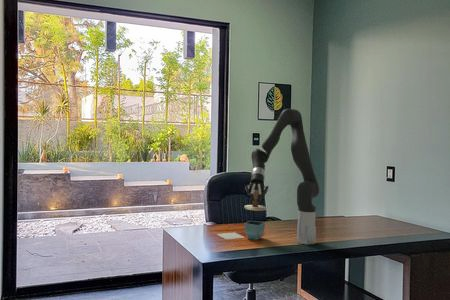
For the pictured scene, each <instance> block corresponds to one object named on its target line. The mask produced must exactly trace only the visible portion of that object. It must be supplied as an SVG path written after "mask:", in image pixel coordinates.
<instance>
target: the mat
mask: <svg viewBox="0 0 450 300" xmlns="http://www.w3.org/2000/svg"><path fill="white" fill-rule="evenodd" d="M216 235H217V236H219V237H221V238H222V239H225V240H233V239H242V238H243V239H244V238H246V237H245V236H243V235H241V234H239V233H237V232H224V233H216Z"/></svg>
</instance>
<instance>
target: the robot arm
mask: <svg viewBox="0 0 450 300" xmlns="http://www.w3.org/2000/svg"><path fill="white" fill-rule="evenodd" d="M287 126H290V129H291V132H292V139H291V140H292V141H291V144H290V145H291V146H290V151H291V155H292V160H293V162H294V164H295V166H296V167H297V168H298V170H299V171H300V173H301V175H302V178H303V181H301V182H299V184H298V185H297V190H296V203H297V232H296V236H297V237H296V243H298V244H301V245H315V244H316V242H317V241H316V239H317V238H316V237H317V236H316V235H317V226H316V211H317V209H316V206H315V205H314V204H313V203H312V202H313V201H312V199H315V198H317V197H318V195H319V193H320V186H319V183H318V181H317V177H316V175H315V172H314V168H313V165H312V164H313V163H312V161H311V156H310V152H309V147H308V143H307V140H306V136H305V131H304V122H303V117H302V113H301V111H299V110H297V109H294V108H286V109H283V110H282V112H281V113H280V115H279V117H278V118H277V121H276V123H275V124H274V126H273V128H272V130H271V131H270V133H269V134H268V136H267V137H266V139H265V140H264V141H263V142H262V144H261V147H262V149H263V150H264V151H263V150H262V149H260V148H255V149H253V150H252V152H251V155H250V156H251V158H250V159H251V161H252V171H251V177H250V183H249V184H245V185H244V188H245V191H246V194H247V196H249V197H250V198H249V200H250V201H251V203H253V190H258V191H259V195H258V203H260V202H261V201H262V200H261V199H262V197H265V196H266V195H267V192H269V186H268V185H265V177H266V175H265V174H266V173H265V171H266V170H265V169H266V163H267V162H268V161H269V159H270V156H271V154H272V152H273V150H274V148H275V147H276V146H277V145H278V143H279V141H280V138H281V134H282V132H283V131H284V129H286V128H287ZM250 189H251V191H250ZM262 190H263V191H262Z"/></svg>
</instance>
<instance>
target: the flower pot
mask: <svg viewBox="0 0 450 300" xmlns="http://www.w3.org/2000/svg"><path fill="white" fill-rule="evenodd" d="M265 225H266V224H265V222H264V221H255V220H249V221H247V222H244V232H245V236H246V238H247V239H248V240H256V241H257V240H260V239H261V238H262V236H263V234H264V230H265Z"/></svg>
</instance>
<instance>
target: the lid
mask: <svg viewBox="0 0 450 300" xmlns="http://www.w3.org/2000/svg"><path fill="white" fill-rule="evenodd" d="M258 195H259V191H258V190H253V202H252V204H246V205H244V207H243V208H244V210H249V211H256V212H257V211H258V212H259V211H262V212H263V211H266V210H267V206H265V205H260V204H259V202H258Z"/></svg>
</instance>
